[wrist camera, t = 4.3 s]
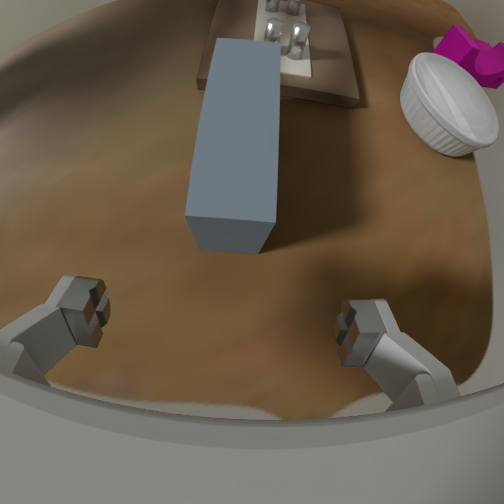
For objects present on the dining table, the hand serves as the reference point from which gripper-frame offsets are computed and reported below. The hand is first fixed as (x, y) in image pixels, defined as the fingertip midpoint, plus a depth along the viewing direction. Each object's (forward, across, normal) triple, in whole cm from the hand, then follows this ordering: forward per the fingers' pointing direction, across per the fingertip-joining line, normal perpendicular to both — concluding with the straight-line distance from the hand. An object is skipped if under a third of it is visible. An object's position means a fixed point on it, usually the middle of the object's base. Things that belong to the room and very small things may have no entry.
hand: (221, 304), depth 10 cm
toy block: (+31, -29, -15) cm, 45 cm away
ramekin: (+22, -20, -6) cm, 30 cm away
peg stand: (+26, -3, -11) cm, 28 cm away
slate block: (+14, 0, +1) cm, 15 cm away
